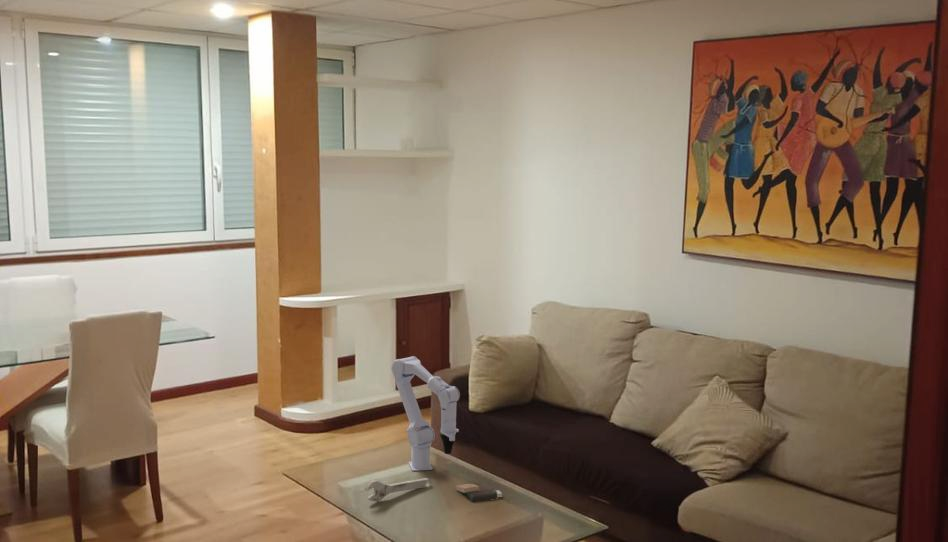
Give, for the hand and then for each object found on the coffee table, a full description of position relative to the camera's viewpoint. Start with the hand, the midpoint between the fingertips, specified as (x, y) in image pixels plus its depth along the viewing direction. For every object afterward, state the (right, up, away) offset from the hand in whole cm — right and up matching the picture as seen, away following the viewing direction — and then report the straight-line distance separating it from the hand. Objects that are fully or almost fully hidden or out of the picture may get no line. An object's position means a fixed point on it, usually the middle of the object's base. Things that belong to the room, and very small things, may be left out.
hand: (447, 453), depth 311 cm
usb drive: (+14, -13, -18) cm, 26 cm away
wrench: (-17, -11, -17) cm, 27 cm away
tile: (+8, -10, -14) cm, 18 cm away
